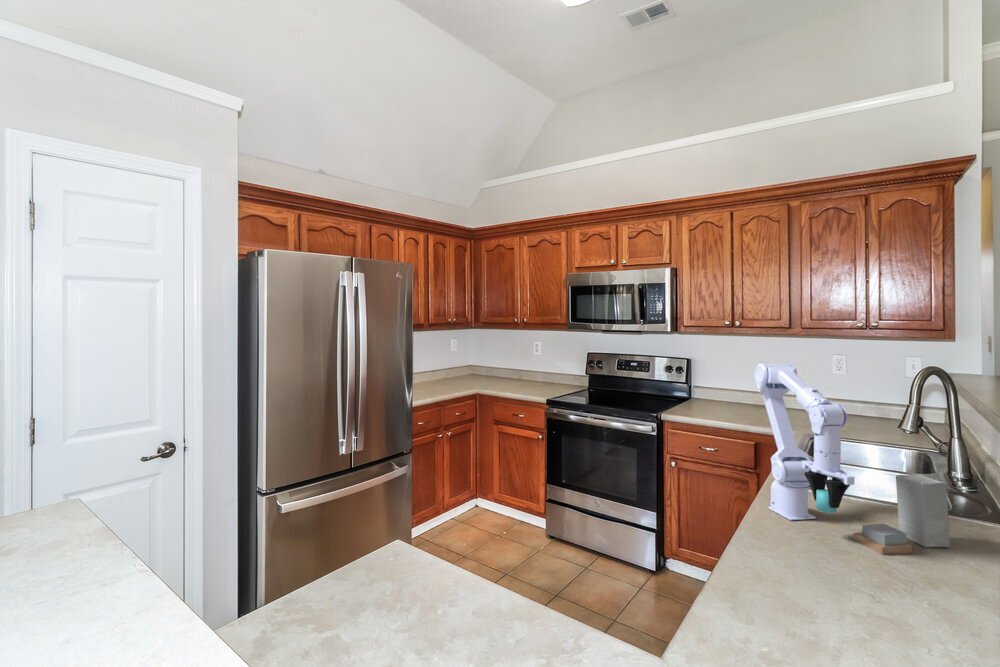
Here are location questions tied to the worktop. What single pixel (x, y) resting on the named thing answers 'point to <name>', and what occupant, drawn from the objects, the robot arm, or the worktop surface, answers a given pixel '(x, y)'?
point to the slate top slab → (884, 534)
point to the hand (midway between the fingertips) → (826, 503)
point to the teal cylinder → (823, 501)
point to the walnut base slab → (881, 548)
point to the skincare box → (923, 510)
